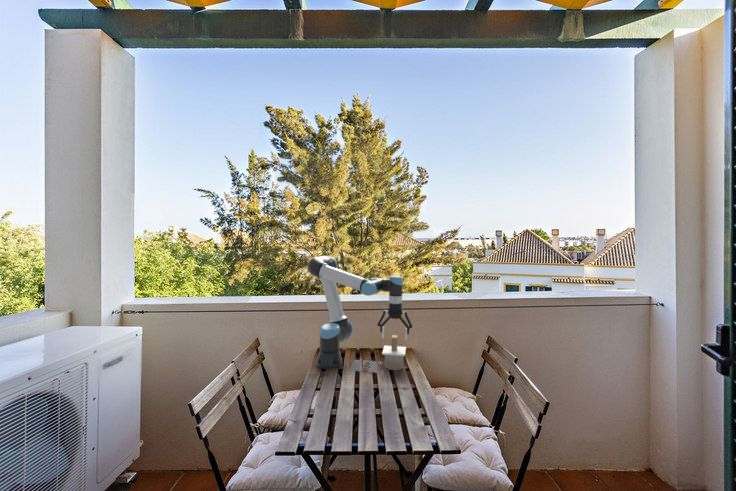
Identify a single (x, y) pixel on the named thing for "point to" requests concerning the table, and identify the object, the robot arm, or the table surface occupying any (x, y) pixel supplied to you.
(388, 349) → the lid
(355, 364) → the mat
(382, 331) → the robot arm
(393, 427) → the table surface
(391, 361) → the planter
